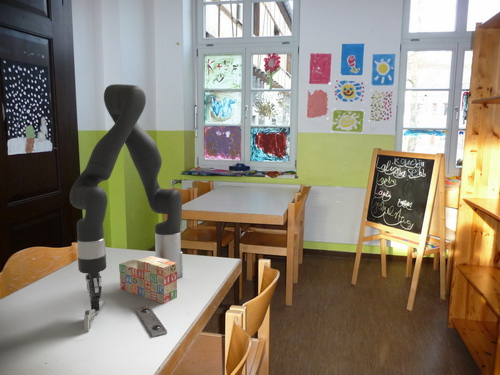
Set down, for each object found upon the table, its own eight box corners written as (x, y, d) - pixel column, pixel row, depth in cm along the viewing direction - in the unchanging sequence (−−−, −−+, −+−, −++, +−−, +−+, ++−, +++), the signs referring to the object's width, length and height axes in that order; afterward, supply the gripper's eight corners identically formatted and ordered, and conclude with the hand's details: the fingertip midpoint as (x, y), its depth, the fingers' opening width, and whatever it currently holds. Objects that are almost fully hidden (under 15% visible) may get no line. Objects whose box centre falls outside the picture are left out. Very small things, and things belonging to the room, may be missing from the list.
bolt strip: (149, 308, 126) (148, 305, 126) (167, 333, 111) (166, 330, 111) (136, 310, 125) (135, 307, 124) (152, 336, 109) (152, 333, 109)
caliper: (88, 334, 111) (87, 312, 111) (84, 334, 111) (83, 313, 110) (105, 303, 131) (105, 284, 131) (102, 303, 131) (101, 285, 130)
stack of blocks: (119, 289, 141) (118, 255, 140) (133, 283, 147) (132, 250, 145) (164, 304, 130) (163, 267, 128) (177, 297, 135) (177, 261, 133)
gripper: (109, 258, 113) (112, 316, 116) (101, 245, 124) (104, 299, 127) (80, 263, 109) (84, 323, 112) (75, 249, 121) (78, 304, 124)
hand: (95, 310), depth 120 cm, fingers closed
